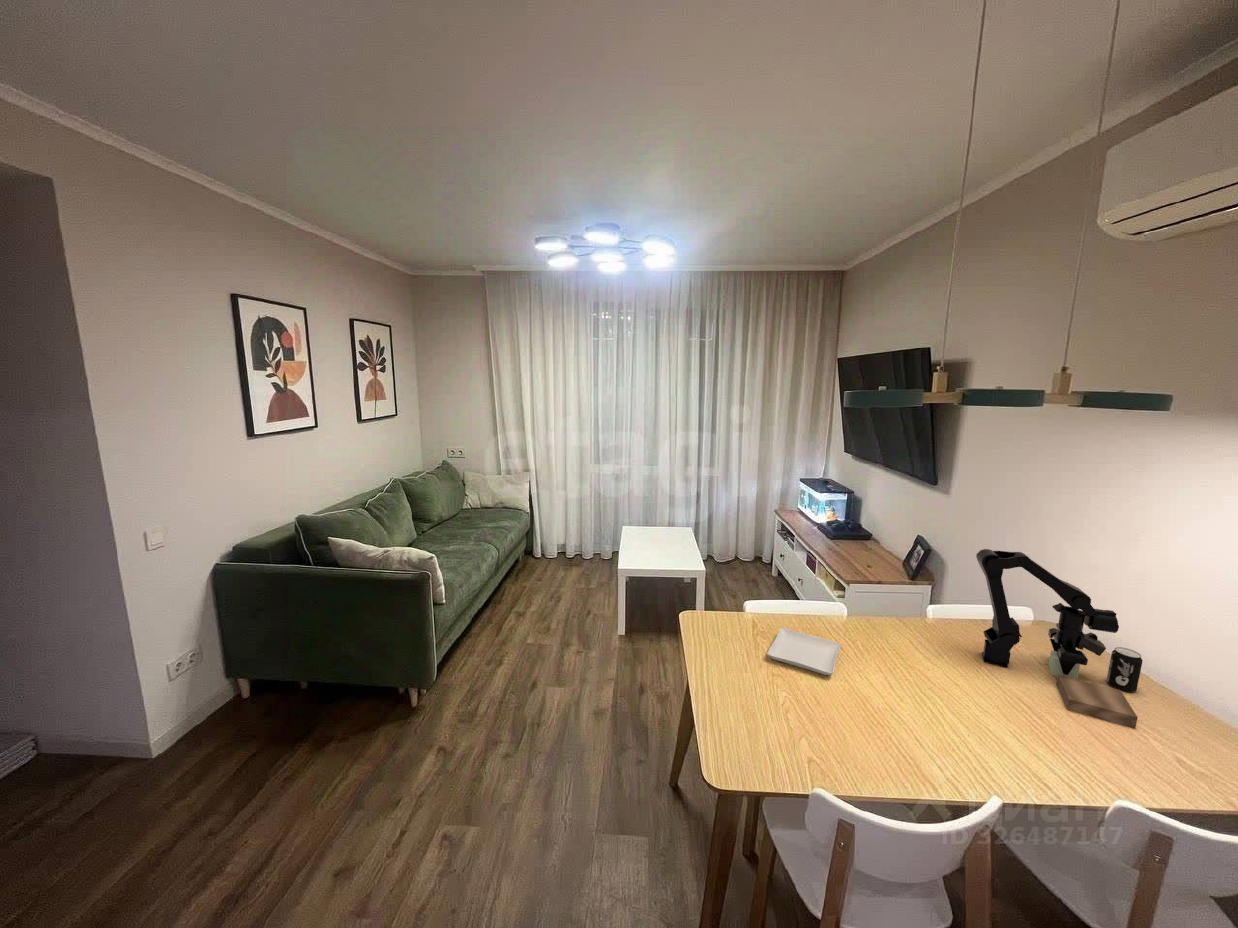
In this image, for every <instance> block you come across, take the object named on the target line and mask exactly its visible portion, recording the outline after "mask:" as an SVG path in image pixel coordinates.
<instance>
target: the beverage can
mask: <svg viewBox="0 0 1238 928" xmlns="http://www.w3.org/2000/svg"><path fill="white" fill-rule="evenodd" d="M1110 655H1111V656H1110V660H1109V665H1108V670H1107V675H1106V681H1107V683H1108V685H1110V686H1111V688H1112V687H1113V688H1114V689H1118V690H1121V692H1122V691H1123V692H1125V693H1133V692H1135V691H1137V689H1138V686H1139V680H1140V676H1141V671H1142V670H1141V669H1142V665H1143V659H1142V654H1141V653H1140V652H1138V651H1136V650H1133V649H1130V648H1128V647H1122V646H1115V647H1114V650H1112V651H1111V654H1110Z"/></svg>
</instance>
